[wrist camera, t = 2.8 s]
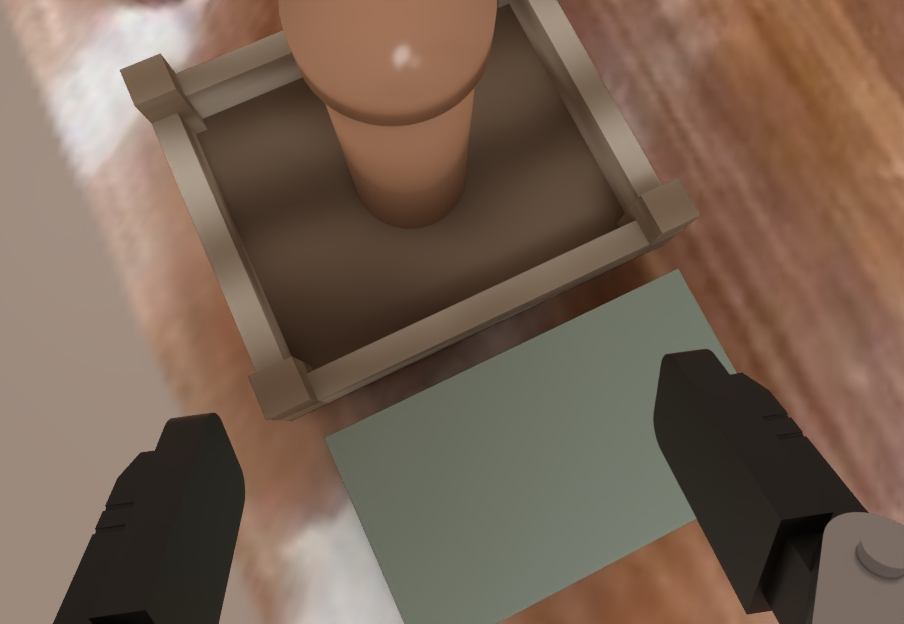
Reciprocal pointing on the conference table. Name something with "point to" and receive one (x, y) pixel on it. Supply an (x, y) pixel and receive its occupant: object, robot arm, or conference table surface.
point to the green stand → (525, 463)
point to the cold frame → (387, 247)
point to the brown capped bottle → (396, 93)
